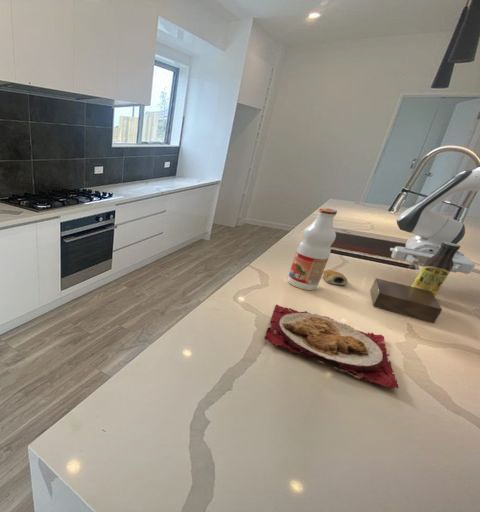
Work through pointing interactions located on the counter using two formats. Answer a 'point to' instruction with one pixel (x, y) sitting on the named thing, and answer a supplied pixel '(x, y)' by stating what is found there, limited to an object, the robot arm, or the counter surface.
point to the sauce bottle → (436, 268)
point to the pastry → (334, 277)
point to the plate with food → (332, 344)
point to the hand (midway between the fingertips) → (434, 265)
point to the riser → (405, 300)
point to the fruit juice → (313, 251)
